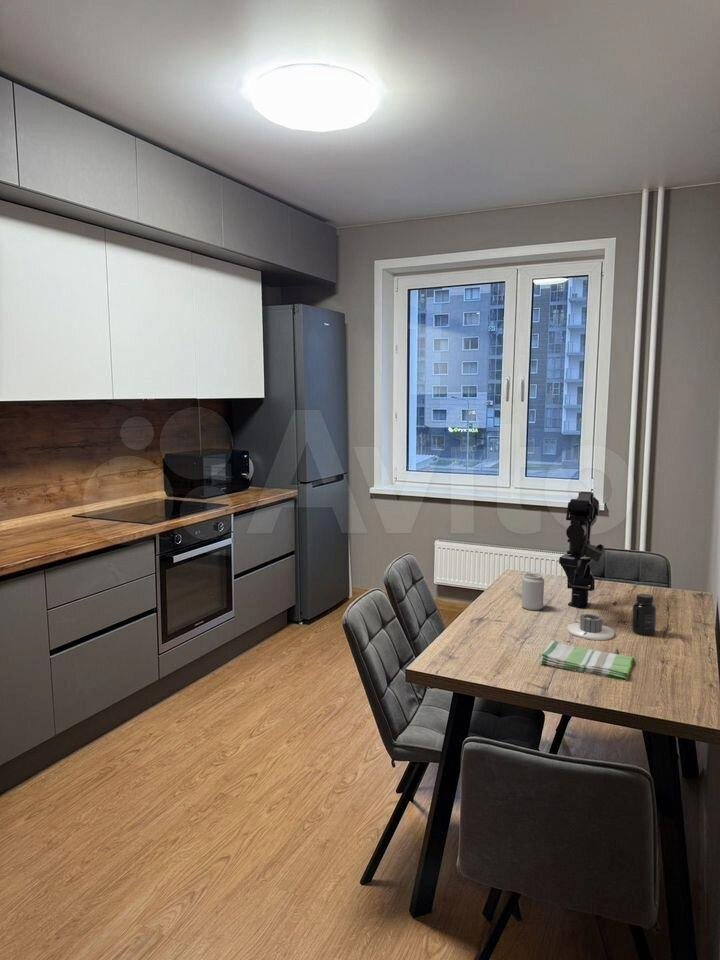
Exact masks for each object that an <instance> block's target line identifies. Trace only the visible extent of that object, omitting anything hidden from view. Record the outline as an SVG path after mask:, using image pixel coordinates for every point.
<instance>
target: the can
mask: <svg viewBox="0 0 720 960" xmlns="http://www.w3.org/2000/svg"><path fill="white" fill-rule="evenodd" d="M523 576H524V577H522V581H521V582H522V583H521V584H522V585H521V606H522V607H523V608H524V609H526V610H528V611H539V610H541V609H542V608H543V607H544V594H545V593H544V591H545V579H544V578H543V575H542V574H540V573H528V572H527V573H524V575H523Z"/></svg>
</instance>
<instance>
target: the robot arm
mask: <svg viewBox="0 0 720 960" xmlns="http://www.w3.org/2000/svg"><path fill="white" fill-rule="evenodd" d="M594 495H595V494H594V492H591V491H579V492H578V496H577V498H571V499H570V501H569V502H568V503H567V508H566V517H565V521H570V523H569V525H568V527H567V528H566V537H567V538H568V539H567V543H569V546H568V547H569V548H568V550H567V551H566V553H564V554H563V555H562V556H561V555H560V557H559V558H558V564H559V565H560V567H562V569H563V571H564V573H565V575H566V578H567V579H566V580H567V581H566V582H567V583H566V584H567V585H566V586H567V589H570V590H571V599H570V602H568V603H567V606H571V607H577V608H581V609H586V608H588V607H590V606H591V605H592V602H589V592H592V591H595V588H596V586H595V582H596V581H595V577H594V574H593V573H592V569H591V565H590V564H589V563H591V562H592V561H594V562H597V563H598V562H600V561H602V559H603V557H604V556H605V555H606V550H605V545H603V544H601V543H599V544H598V545H595V544H594V545H593V544H591V536H592V535H591V534H592V527H593V526H594V525H595V523H596V522H597V520H598V516H599V515H600V500H598V499H597V498H596V497H595V496H594Z"/></svg>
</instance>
